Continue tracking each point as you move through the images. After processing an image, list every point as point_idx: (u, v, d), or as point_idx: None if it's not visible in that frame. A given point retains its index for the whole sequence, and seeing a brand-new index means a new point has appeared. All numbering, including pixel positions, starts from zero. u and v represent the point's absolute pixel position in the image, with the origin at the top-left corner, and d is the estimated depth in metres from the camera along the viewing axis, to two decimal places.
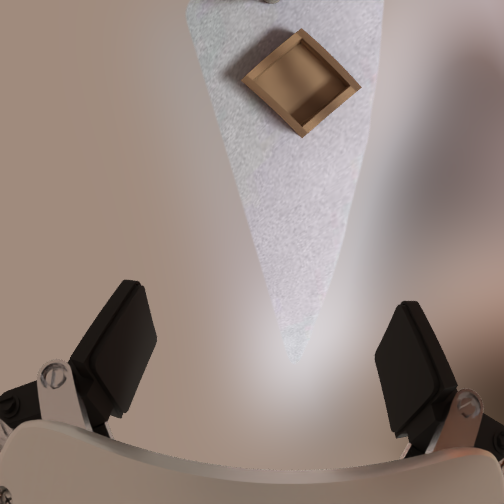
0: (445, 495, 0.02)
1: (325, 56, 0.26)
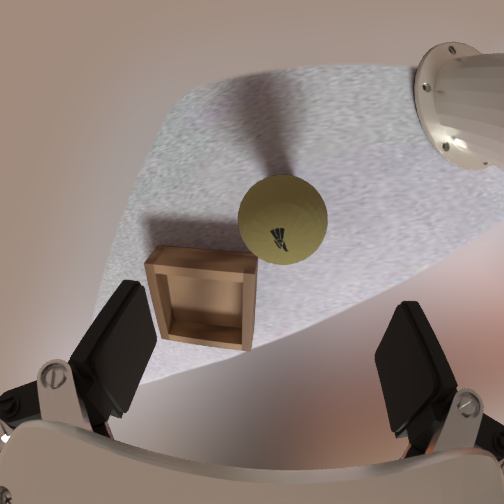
0: (445, 495, 0.02)
1: (245, 313, 0.26)
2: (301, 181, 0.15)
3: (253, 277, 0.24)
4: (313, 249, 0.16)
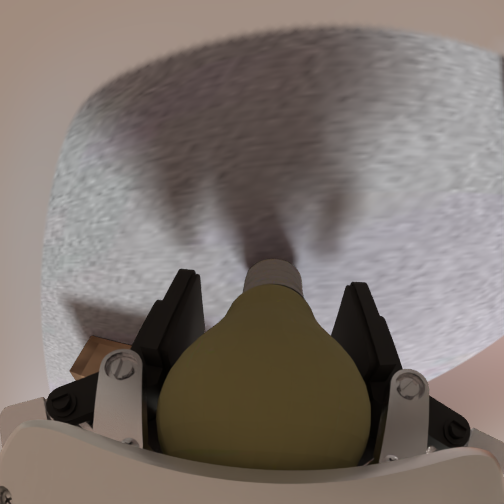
0: (445, 495, 0.02)
1: None
2: (319, 378, 0.05)
3: None
4: None
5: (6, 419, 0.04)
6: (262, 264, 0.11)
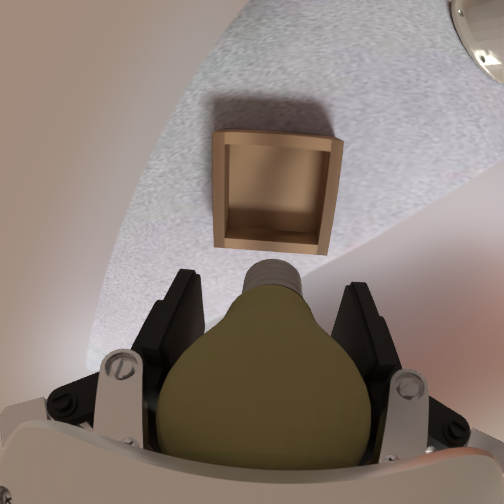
0: (445, 495, 0.02)
1: (329, 194, 0.22)
2: (319, 379, 0.05)
3: (342, 145, 0.20)
4: None
5: (6, 419, 0.04)
6: (261, 264, 0.11)
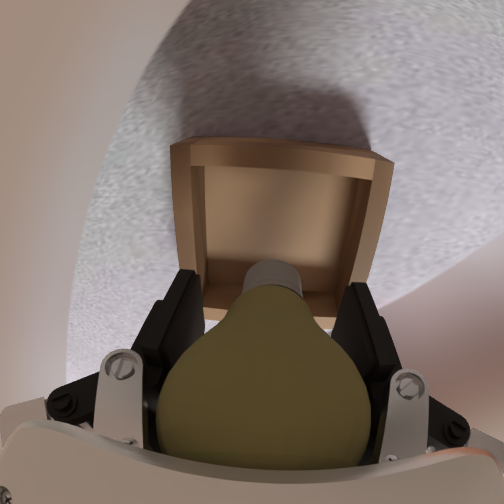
0: (445, 495, 0.02)
1: (363, 249, 0.13)
2: (319, 380, 0.05)
3: (391, 169, 0.11)
4: None
5: (6, 419, 0.04)
6: (261, 265, 0.11)
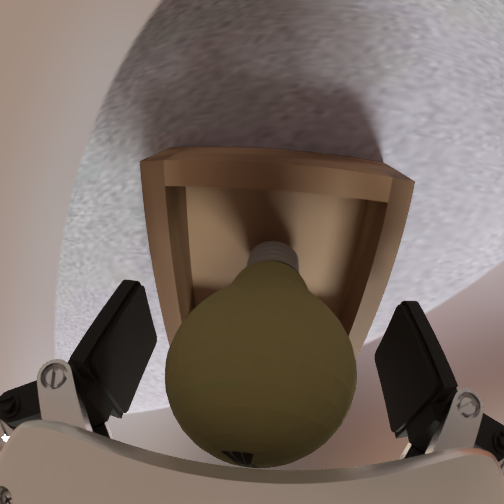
0: (445, 495, 0.02)
1: (373, 282, 0.11)
2: (306, 323, 0.06)
3: (410, 189, 0.09)
4: None
5: None
6: (263, 245, 0.12)
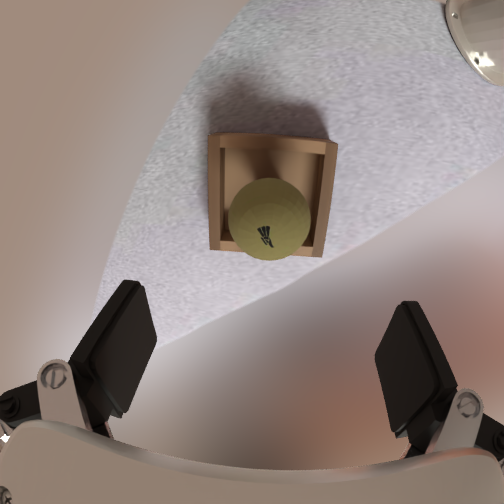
0: (445, 495, 0.02)
1: (323, 197, 0.22)
2: (285, 183, 0.17)
3: (336, 147, 0.20)
4: (297, 245, 0.17)
5: None
6: None
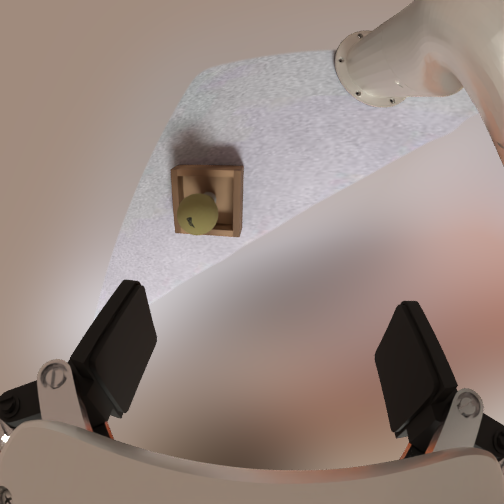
0: (445, 495, 0.02)
1: (235, 201, 0.40)
2: (202, 196, 0.35)
3: (239, 173, 0.38)
4: (208, 227, 0.35)
5: None
6: (204, 193, 0.41)
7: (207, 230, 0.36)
